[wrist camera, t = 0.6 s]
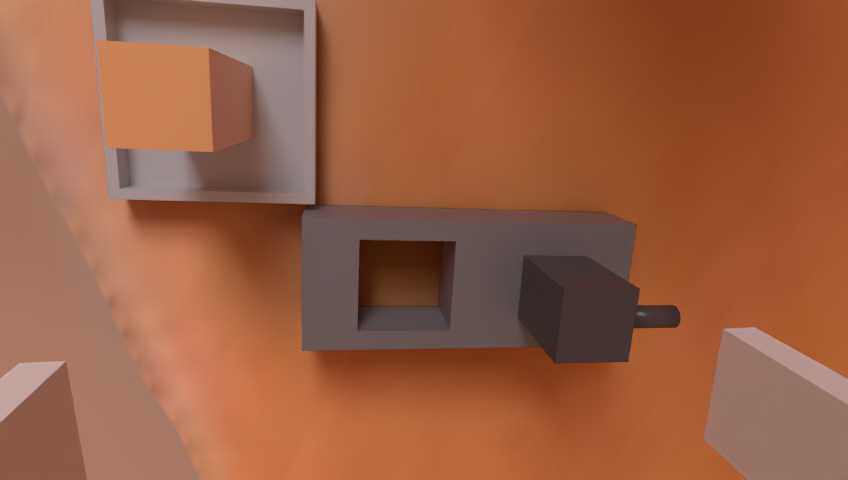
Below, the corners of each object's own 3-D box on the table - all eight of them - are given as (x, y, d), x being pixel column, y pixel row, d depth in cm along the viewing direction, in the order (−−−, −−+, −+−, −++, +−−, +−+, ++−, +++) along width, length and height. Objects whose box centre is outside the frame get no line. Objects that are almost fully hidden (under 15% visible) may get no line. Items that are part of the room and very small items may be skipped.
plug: (177, 61, 29) (95, 39, 20) (252, 66, 30) (208, 47, 20) (181, 134, 30) (106, 147, 21) (253, 137, 31) (212, 152, 21)
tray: (105, -13, 28) (88, -21, 26) (317, 5, 30) (315, -2, 28) (123, 193, 31) (108, 198, 29) (316, 198, 33) (314, 204, 31)
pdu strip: (306, 204, 33) (291, 245, 23) (605, 212, 36) (701, 251, 26) (306, 323, 35) (292, 407, 25) (590, 321, 38) (674, 394, 28)
